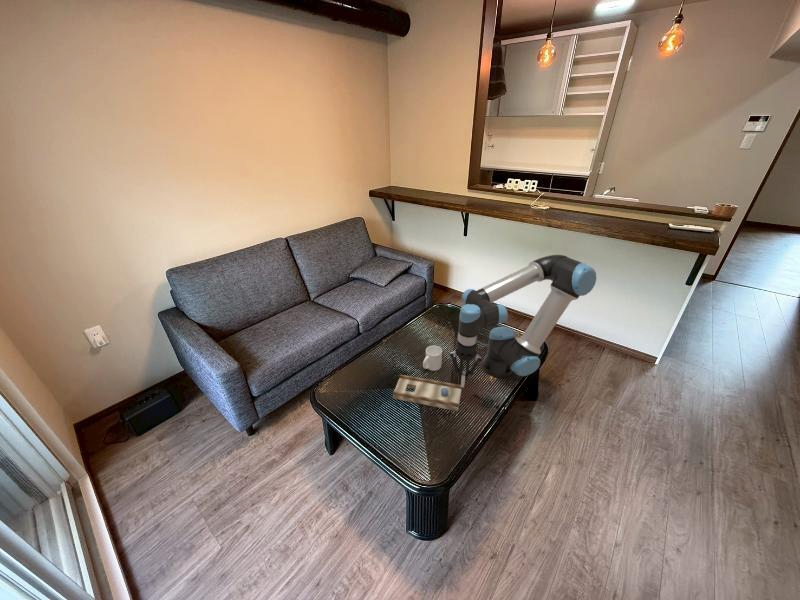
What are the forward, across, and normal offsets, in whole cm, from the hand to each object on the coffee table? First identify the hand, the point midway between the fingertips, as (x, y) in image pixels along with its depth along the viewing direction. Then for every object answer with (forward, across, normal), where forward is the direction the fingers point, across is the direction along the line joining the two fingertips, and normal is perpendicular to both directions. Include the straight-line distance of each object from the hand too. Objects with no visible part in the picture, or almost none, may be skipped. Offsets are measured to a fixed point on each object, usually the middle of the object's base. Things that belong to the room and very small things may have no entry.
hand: (462, 384), depth 132 cm
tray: (+11, +16, 0) cm, 19 cm away
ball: (+6, +8, 0) cm, 10 cm away
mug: (+11, +18, -19) cm, 28 cm away
